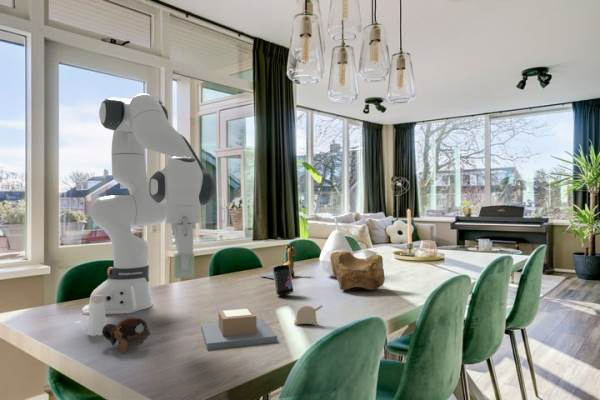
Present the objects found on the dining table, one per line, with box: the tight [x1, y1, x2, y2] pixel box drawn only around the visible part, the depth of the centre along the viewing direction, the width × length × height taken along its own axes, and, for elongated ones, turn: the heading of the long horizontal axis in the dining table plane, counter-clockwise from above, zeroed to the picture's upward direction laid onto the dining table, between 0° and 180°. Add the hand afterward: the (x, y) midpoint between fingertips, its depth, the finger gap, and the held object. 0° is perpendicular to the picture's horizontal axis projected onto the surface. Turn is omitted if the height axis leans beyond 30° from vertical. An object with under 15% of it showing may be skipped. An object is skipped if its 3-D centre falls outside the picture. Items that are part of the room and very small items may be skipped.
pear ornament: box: [318, 218, 355, 278], centre depth 209 cm, size 16×22×28 cm
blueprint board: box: [200, 307, 278, 350], centre depth 119 cm, size 18×18×6 cm
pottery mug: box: [102, 316, 151, 354], centre depth 109 cm, size 12×9×8 cm
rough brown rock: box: [330, 251, 385, 291], centre depth 177 cm, size 23×17×15 cm
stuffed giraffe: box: [259, 244, 303, 280], centre depth 208 cm, size 16×18×16 cm
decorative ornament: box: [293, 304, 323, 326], centre depth 129 cm, size 4×8×5 cm, turn 87°
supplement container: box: [272, 264, 294, 297], centre depth 167 cm, size 7×7×10 cm
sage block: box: [173, 252, 195, 279], centre depth 115 cm, size 5×5×6 cm
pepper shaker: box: [86, 294, 107, 337], centre depth 121 cm, size 5×5×11 cm
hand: (184, 268), depth 116 cm, fingers closed on sage block, 5 cm apart
